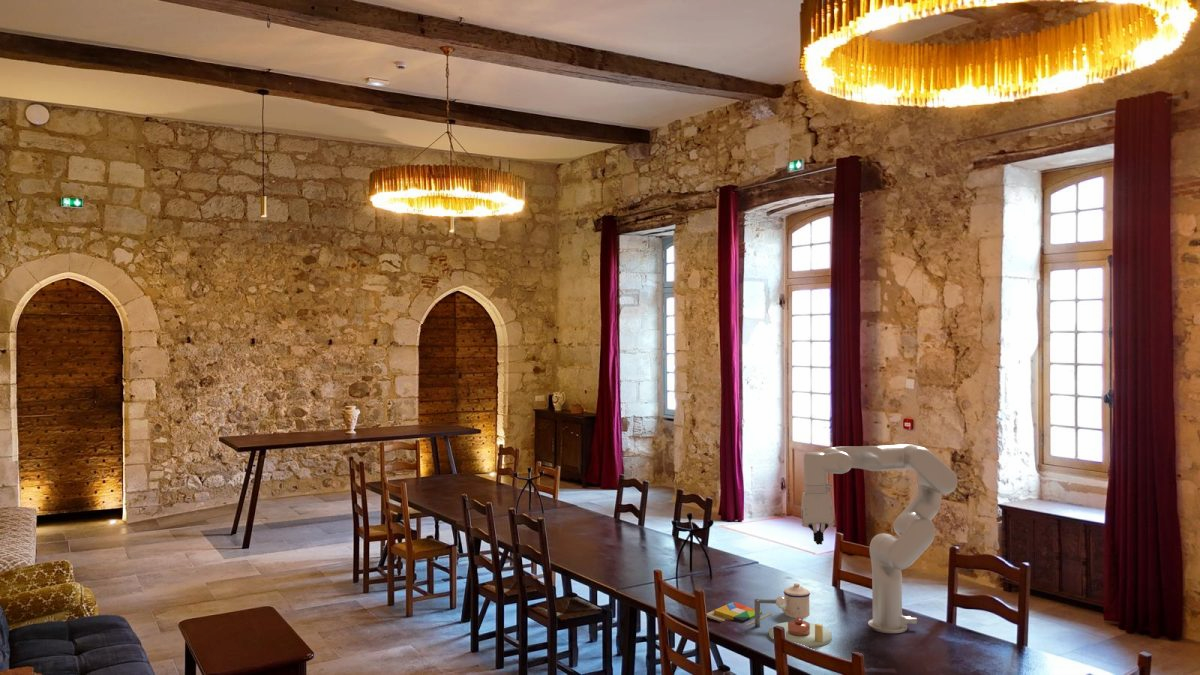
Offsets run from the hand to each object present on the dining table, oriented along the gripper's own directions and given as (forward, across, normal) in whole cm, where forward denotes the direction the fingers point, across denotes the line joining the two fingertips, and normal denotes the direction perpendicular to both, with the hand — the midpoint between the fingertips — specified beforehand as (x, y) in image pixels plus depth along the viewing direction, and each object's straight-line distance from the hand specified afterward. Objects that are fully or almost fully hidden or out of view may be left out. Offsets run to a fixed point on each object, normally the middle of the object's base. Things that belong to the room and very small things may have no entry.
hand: (818, 543), depth 289 cm
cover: (+27, +9, +8) cm, 30 cm away
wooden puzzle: (+30, +27, -14) cm, 43 cm away
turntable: (+28, +9, +7) cm, 31 cm away
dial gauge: (+29, +18, -2) cm, 34 cm away
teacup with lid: (+30, +7, -15) cm, 34 cm away
